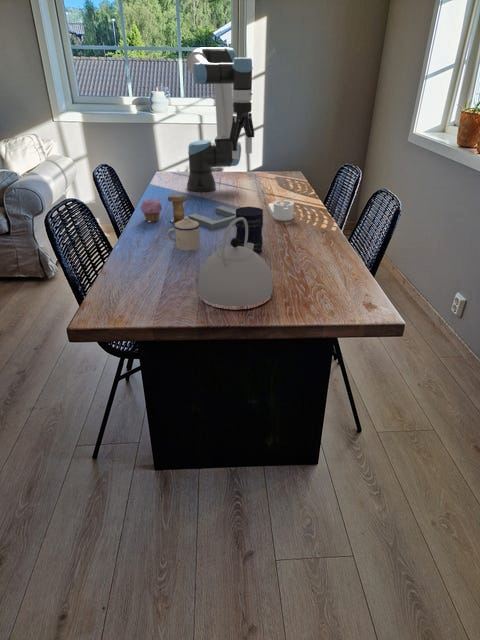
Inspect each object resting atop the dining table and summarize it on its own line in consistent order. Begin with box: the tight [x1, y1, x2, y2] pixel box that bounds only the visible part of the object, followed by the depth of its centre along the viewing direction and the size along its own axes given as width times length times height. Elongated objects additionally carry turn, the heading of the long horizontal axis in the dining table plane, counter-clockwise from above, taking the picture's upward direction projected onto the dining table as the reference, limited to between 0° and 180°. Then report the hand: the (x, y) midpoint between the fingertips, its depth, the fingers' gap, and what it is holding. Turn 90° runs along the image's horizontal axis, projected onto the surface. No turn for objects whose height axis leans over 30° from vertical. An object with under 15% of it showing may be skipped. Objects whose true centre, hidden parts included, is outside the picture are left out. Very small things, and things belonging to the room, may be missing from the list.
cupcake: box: [140, 198, 163, 223], centre depth 188 cm, size 9×9×10 cm
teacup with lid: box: [166, 215, 201, 251], centre depth 163 cm, size 12×9×12 cm
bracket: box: [267, 199, 295, 222], centre depth 200 cm, size 20×9×7 cm, turn 8°
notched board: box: [187, 205, 236, 231], centre depth 192 cm, size 16×20×2 cm
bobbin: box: [167, 193, 188, 224], centre depth 187 cm, size 8×8×11 cm
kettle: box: [197, 217, 273, 306], centre depth 130 cm, size 25×23×23 cm
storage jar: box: [234, 206, 264, 255], centre depth 159 cm, size 10×10×15 cm
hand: (242, 155), depth 192 cm, fingers open, 13 cm apart
